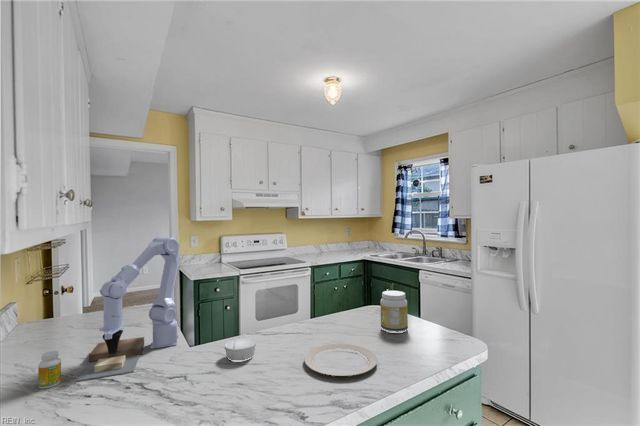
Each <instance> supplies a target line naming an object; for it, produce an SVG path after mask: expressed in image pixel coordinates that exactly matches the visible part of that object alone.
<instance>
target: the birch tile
mask: <svg viewBox="0 0 640 426" xmlns="http://www.w3.org/2000/svg"><path fill="white" fill-rule="evenodd" d="M124 363H125V356H118V357H112V358H105V359H99V360H98V362H97V363H96V365H95V366H94V373H95V372H101V371H107V370H114V369H120V368H122V367H123V365H124Z"/></svg>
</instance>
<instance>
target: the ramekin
mask: <svg viewBox="0 0 640 426" xmlns="http://www.w3.org/2000/svg"><path fill="white" fill-rule="evenodd" d="M256 346H257V342H256V340H255V339H253V338H249V337H241V338H235V339H232V340H229V341H227V342H226V343H225V344H224V350H225V354H226V359H227V358H229V359H231V360H245V359H248V358H250V357H252V356H253V357H254V355H255V350H256ZM253 357H252V358H253Z"/></svg>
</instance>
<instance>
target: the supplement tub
mask: <svg viewBox="0 0 640 426" xmlns="http://www.w3.org/2000/svg"><path fill="white" fill-rule="evenodd" d="M381 297H382V298H381V299H380V304H379V305H380V328H381V327H382V328H383V329H385V330H388V331H396V332H399V331H405V330H407V329H409V327H408V326H409V325H408V324H409V322H408V316H409V315H408V300H407V299H406V292H404V291H400V290H385V291H382V293H381ZM407 331H408V330H407Z"/></svg>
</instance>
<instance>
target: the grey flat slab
mask: <svg viewBox="0 0 640 426" xmlns="http://www.w3.org/2000/svg"><path fill="white" fill-rule="evenodd" d="M140 356H141V354H140V355H135V356H129V357H125V363H124V365H123V367H122V368H120V369H114V370H107V371H101V372H95V373H94V366H95V365H96V363H97V362H98V361H96V362H89V361H88V363H87V364H86V366H85V367H84V368H83V370H81V372H80V374H79V376H77V378H76V380H75V383H77V382H84V381H88V380H95V379H96V380H97V379H101V378H106V377H114V376H119V375H125V373H126V374H131V373H130V372H132V373H134V372H135V368H136V366H137V364H138V361H139V359H140Z"/></svg>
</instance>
